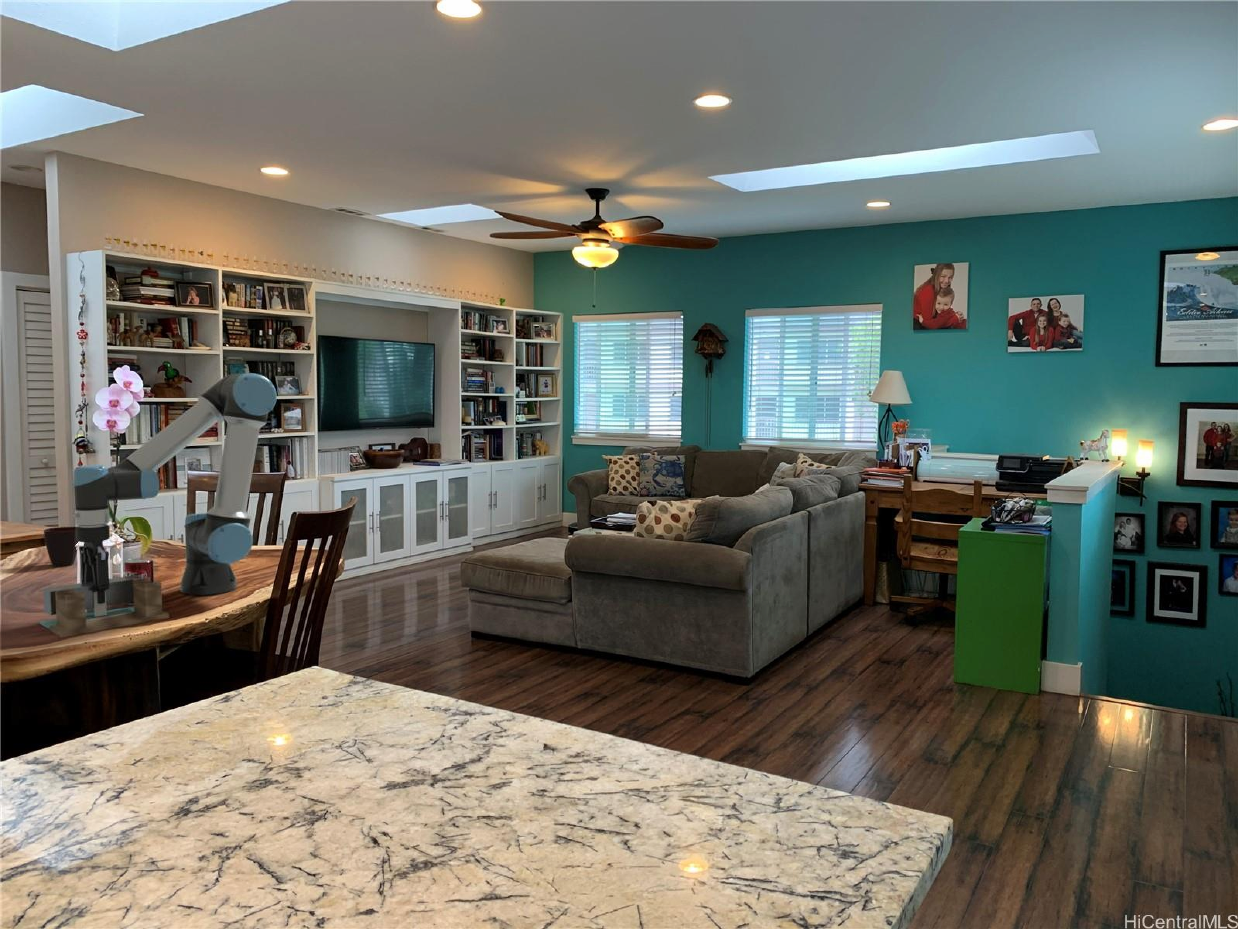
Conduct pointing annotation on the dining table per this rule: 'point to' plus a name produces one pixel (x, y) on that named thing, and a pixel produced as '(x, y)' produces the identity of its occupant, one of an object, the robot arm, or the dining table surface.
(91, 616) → the mat
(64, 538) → the cup
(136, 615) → the stand
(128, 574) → the soda can
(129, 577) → the rail
